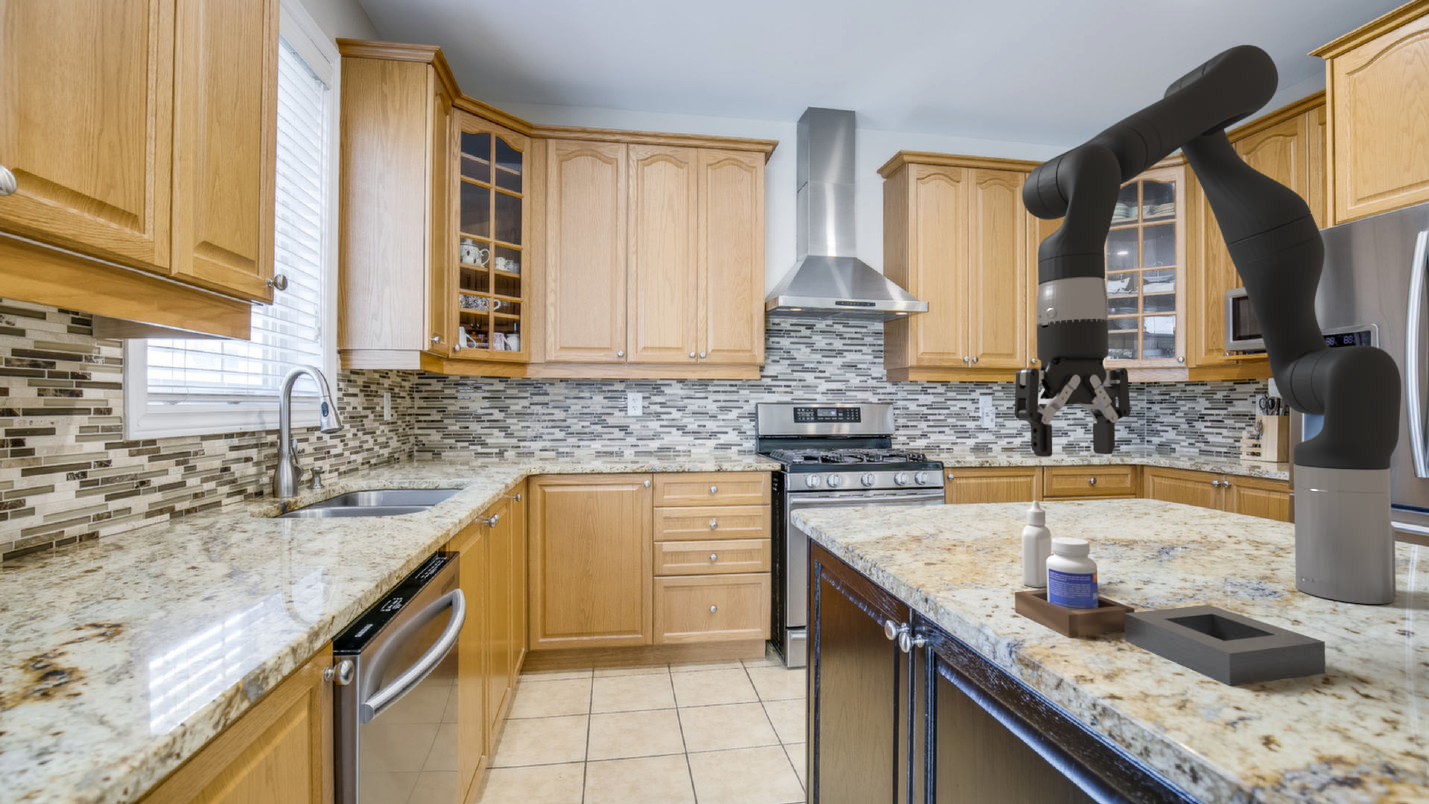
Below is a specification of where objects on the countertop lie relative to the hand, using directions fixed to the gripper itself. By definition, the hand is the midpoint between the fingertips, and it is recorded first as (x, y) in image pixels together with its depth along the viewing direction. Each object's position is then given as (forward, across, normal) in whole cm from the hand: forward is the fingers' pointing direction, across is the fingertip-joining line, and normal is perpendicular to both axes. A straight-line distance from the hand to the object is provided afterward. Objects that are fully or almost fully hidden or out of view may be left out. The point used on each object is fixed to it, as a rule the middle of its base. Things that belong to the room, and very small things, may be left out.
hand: (1073, 454), depth 76 cm
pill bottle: (+20, 0, 0) cm, 20 cm away
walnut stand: (+20, 0, 0) cm, 20 cm away
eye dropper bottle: (+20, -7, -15) cm, 26 cm away
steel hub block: (+20, -6, +12) cm, 24 cm away
